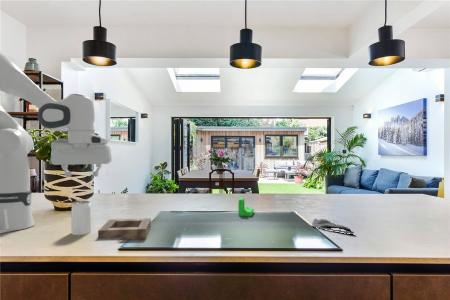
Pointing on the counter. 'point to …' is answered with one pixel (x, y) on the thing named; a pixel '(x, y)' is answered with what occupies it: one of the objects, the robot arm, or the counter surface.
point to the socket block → (125, 229)
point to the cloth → (329, 225)
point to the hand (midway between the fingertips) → (82, 176)
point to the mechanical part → (244, 208)
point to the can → (81, 218)
